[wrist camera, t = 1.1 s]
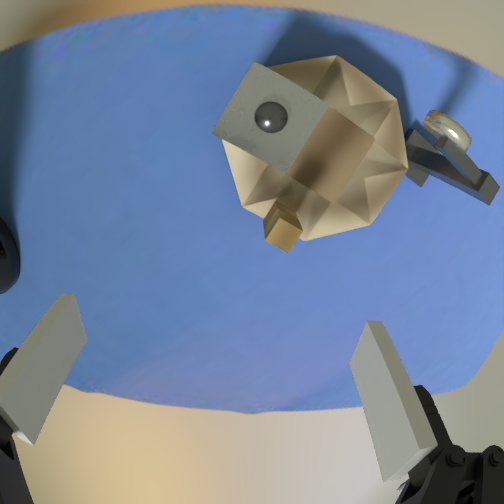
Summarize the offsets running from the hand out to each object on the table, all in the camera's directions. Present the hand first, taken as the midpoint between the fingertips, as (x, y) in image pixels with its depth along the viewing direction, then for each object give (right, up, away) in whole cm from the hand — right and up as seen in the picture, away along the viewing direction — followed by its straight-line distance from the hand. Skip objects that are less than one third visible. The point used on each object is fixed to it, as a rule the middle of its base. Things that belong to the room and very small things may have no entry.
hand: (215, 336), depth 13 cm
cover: (+3, +16, +14) cm, 21 cm away
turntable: (+8, +14, +17) cm, 23 cm away
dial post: (+18, +16, +18) cm, 30 cm away
